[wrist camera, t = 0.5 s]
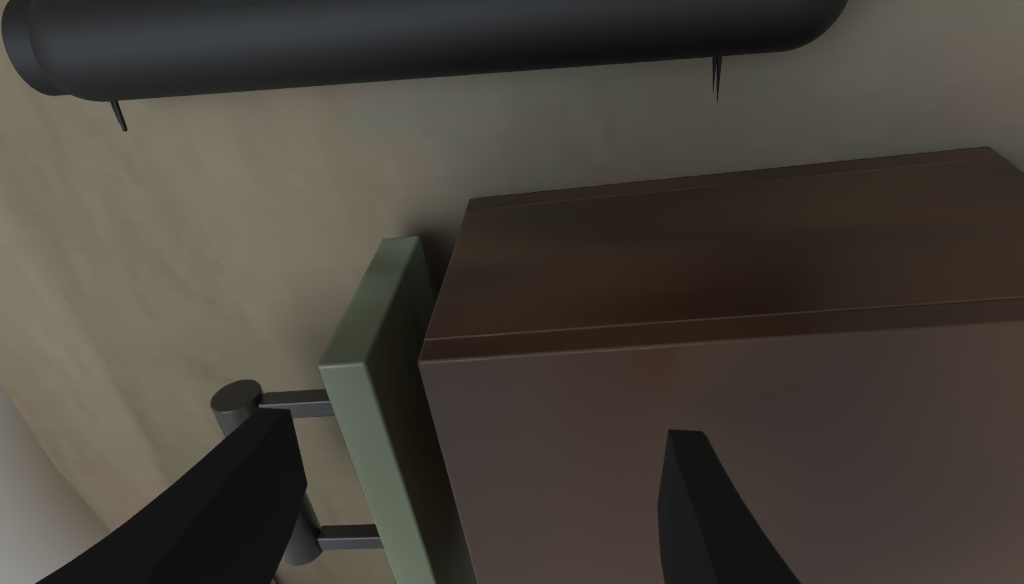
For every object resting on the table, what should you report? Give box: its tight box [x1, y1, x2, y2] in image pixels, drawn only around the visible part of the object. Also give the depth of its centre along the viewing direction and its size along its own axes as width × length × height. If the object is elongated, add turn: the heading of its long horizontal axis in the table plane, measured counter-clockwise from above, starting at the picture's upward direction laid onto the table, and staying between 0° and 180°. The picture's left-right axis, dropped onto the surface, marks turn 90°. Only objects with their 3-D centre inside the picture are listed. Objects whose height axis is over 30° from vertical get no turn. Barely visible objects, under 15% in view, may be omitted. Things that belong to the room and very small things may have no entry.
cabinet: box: [417, 147, 1024, 584], centre depth 21 cm, size 15×15×8 cm
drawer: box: [211, 236, 478, 584], centre depth 22 cm, size 19×13×6 cm
